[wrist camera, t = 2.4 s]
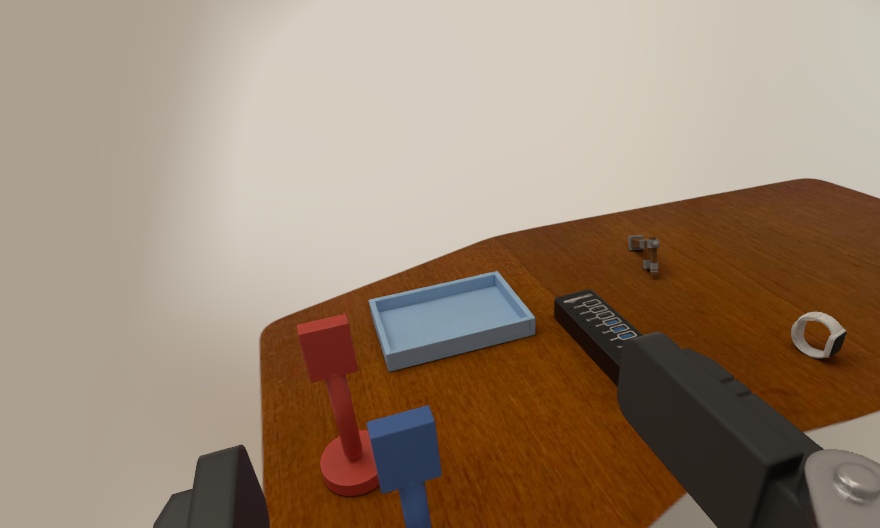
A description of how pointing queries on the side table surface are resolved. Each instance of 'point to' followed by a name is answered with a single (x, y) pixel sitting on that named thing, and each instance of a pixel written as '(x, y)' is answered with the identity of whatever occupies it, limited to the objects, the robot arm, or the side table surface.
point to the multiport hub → (595, 328)
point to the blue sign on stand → (407, 459)
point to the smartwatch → (833, 340)
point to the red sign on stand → (339, 406)
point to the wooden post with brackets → (652, 245)
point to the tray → (449, 320)
